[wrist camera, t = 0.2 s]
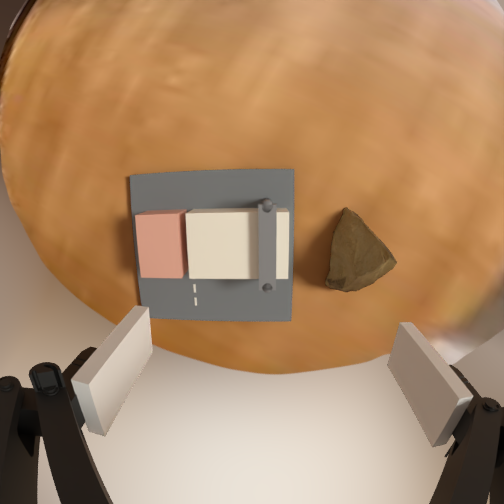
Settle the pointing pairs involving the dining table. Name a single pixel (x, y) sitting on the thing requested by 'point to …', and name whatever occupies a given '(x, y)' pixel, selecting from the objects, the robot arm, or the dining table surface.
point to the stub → (162, 243)
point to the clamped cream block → (239, 243)
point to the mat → (214, 290)
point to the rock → (356, 255)
